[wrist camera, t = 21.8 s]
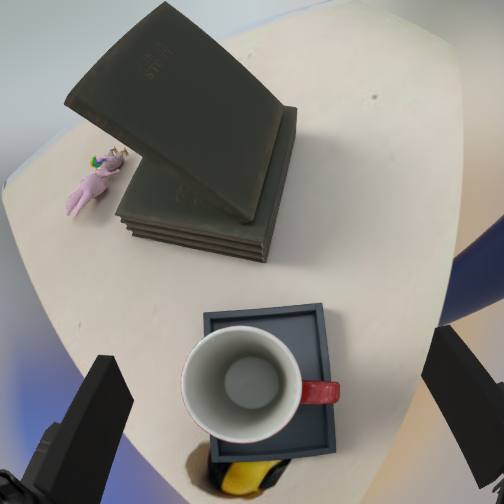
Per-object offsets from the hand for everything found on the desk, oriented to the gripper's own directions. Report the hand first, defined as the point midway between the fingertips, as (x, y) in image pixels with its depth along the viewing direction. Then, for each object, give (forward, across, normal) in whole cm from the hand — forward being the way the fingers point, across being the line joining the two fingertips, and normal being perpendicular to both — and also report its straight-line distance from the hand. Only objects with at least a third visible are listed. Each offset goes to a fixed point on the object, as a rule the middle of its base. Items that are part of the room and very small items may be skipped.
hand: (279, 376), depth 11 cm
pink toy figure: (+39, -26, +4) cm, 47 cm away
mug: (+16, -1, -18) cm, 24 cm away
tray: (+17, -1, -18) cm, 25 cm away
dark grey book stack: (+38, -6, +2) cm, 38 cm away
